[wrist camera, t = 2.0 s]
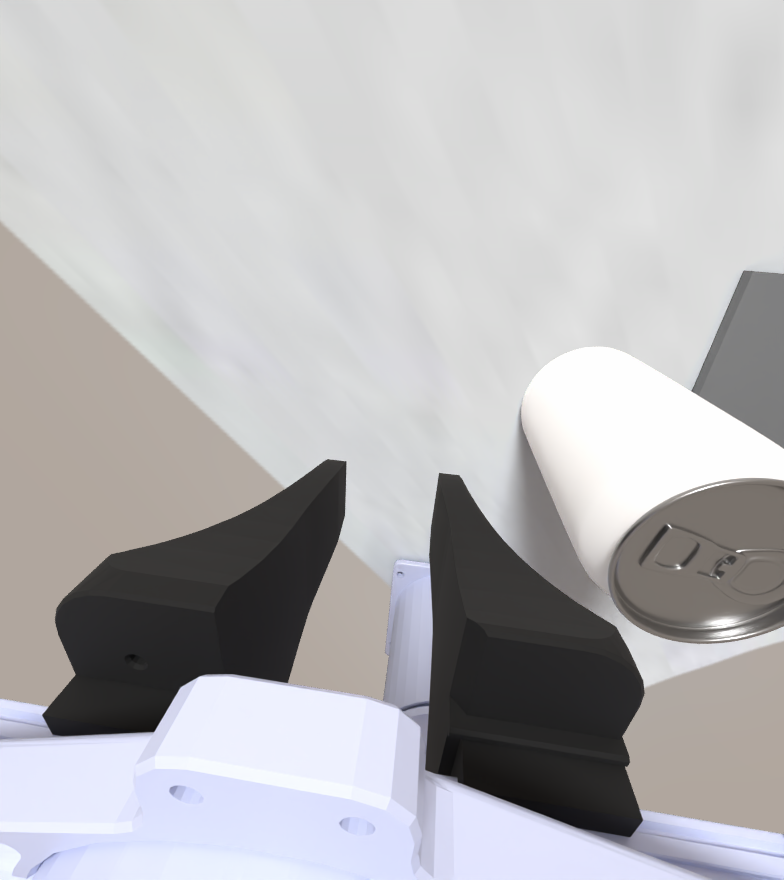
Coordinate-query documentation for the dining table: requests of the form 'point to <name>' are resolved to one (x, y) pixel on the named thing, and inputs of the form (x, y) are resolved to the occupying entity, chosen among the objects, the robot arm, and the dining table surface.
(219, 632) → the robot arm
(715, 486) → the can
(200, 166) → the dining table surface
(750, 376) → the mat
